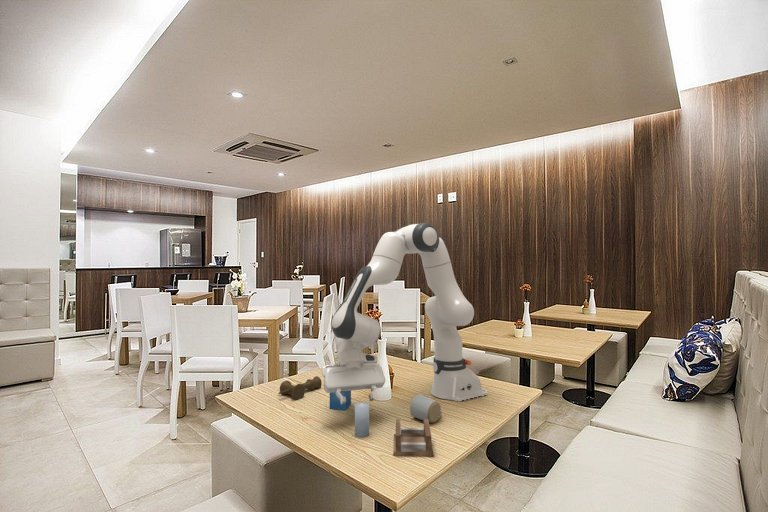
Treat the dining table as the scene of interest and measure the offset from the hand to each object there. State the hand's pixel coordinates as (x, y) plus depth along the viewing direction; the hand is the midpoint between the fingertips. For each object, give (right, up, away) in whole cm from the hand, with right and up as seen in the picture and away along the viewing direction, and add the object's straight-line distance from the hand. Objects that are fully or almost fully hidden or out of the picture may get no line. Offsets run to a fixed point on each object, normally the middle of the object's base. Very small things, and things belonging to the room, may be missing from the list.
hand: (358, 401), depth 121 cm
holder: (+17, -8, -11) cm, 22 cm away
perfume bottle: (-8, -9, +19) cm, 22 cm away
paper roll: (+1, -9, -4) cm, 9 cm away
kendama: (-26, -9, +32) cm, 42 cm away
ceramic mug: (+23, -9, +8) cm, 26 cm away
